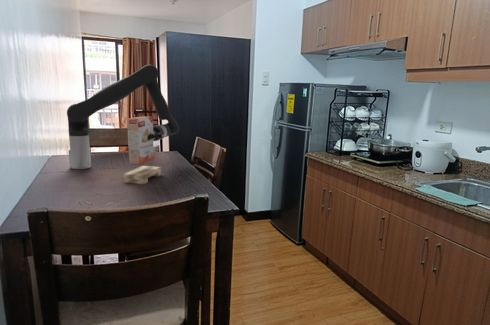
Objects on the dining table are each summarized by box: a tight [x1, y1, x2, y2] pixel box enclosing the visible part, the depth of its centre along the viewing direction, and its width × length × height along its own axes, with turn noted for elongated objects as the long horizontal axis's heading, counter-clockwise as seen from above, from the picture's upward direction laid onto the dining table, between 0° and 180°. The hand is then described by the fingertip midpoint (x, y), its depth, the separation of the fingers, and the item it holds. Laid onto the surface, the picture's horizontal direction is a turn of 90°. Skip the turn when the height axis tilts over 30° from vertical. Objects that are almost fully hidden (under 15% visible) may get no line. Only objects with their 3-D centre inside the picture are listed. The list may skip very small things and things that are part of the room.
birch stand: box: [122, 165, 162, 185], centre depth 154 cm, size 10×18×4 cm, turn 170°
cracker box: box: [126, 115, 155, 166], centre depth 151 cm, size 14×6×21 cm, turn 169°
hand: (141, 137), depth 152 cm, fingers closed on cracker box, 6 cm apart
